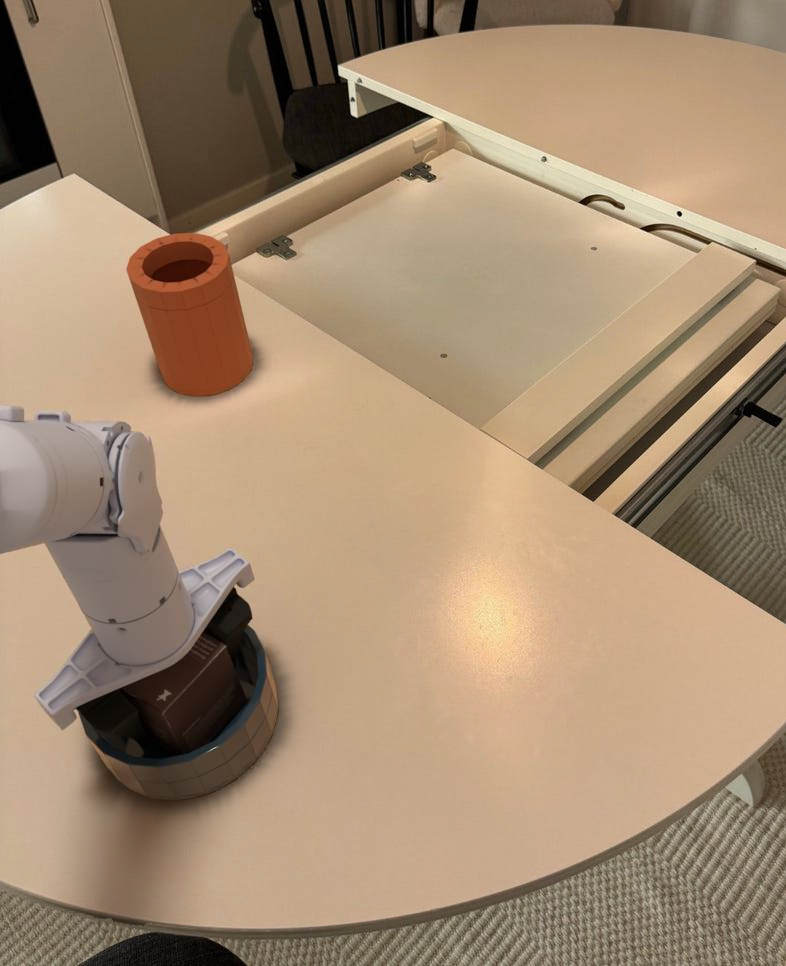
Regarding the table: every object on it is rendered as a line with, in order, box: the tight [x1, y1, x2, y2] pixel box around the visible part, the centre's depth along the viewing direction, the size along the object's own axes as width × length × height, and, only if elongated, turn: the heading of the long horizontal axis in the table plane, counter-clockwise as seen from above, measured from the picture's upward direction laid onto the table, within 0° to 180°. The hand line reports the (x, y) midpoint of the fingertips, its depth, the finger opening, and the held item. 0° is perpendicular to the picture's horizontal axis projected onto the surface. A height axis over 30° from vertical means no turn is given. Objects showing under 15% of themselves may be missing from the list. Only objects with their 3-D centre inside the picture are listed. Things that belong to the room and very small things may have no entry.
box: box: [119, 631, 247, 756], centre depth 64 cm, size 6×6×7 cm
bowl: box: [77, 624, 279, 801], centre depth 66 cm, size 12×12×5 cm
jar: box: [126, 232, 254, 397], centre depth 88 cm, size 9×9×12 cm
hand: (182, 699), depth 66 cm, fingers closed on box, 6 cm apart
